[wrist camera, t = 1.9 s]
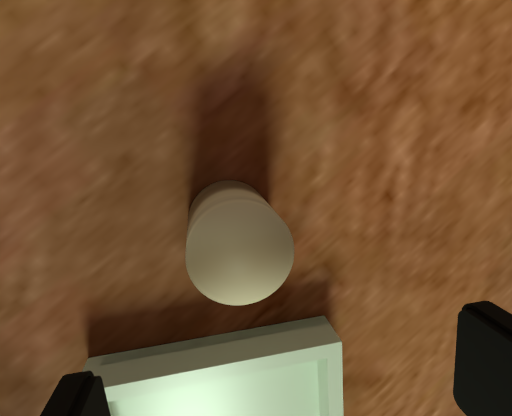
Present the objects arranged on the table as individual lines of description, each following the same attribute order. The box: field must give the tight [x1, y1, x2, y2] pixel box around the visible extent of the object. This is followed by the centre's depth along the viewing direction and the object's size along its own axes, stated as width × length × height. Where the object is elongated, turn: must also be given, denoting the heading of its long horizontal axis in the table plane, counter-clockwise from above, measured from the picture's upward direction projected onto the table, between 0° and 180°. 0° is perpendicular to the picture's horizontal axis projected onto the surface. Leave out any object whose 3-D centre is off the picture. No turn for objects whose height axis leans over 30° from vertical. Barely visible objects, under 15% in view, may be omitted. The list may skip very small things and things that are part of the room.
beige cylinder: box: [185, 180, 294, 305], centre depth 18 cm, size 5×5×6 cm
